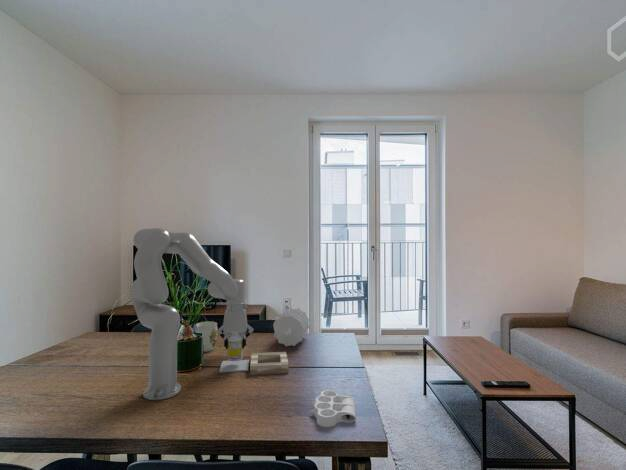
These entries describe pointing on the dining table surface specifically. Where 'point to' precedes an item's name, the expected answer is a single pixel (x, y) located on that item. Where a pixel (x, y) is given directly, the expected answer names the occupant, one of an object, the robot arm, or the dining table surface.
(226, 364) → the grey mat
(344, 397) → the white scalloped holder tray
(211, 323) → the pitcher
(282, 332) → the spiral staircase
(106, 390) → the dining table surface
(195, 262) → the robot arm
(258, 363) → the cup holder
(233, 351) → the supplement bottle
